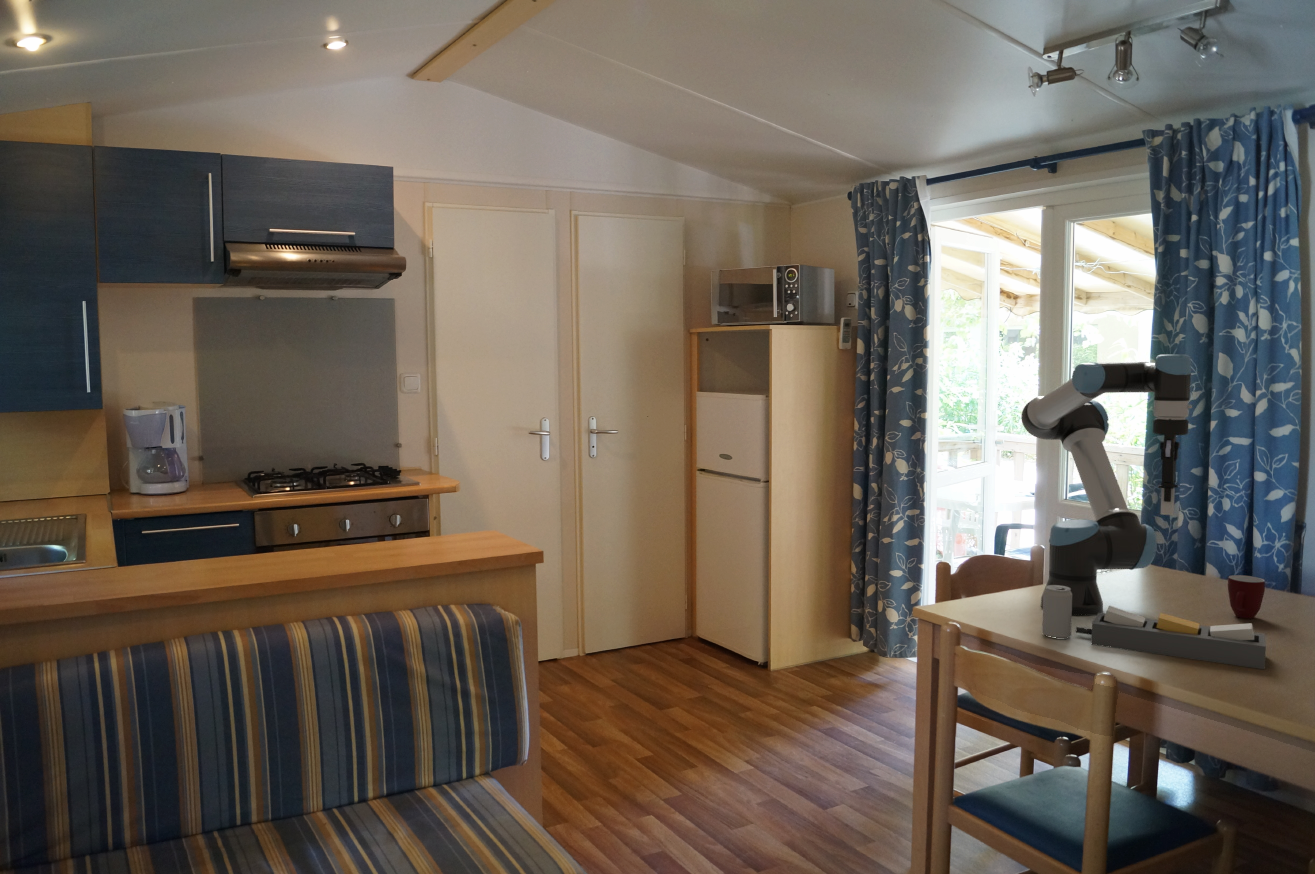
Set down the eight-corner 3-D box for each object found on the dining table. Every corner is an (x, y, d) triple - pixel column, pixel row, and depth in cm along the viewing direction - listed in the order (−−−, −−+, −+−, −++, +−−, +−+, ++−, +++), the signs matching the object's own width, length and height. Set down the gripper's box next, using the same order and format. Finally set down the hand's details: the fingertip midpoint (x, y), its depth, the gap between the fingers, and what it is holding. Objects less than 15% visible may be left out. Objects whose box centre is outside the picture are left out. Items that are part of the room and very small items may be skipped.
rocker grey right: (1212, 642, 208) (1209, 631, 208) (1213, 636, 212) (1210, 625, 212) (1254, 639, 204) (1251, 628, 204) (1254, 633, 208) (1251, 623, 208)
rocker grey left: (1103, 619, 220) (1106, 610, 219) (1106, 614, 224) (1109, 605, 223) (1140, 632, 216) (1143, 622, 215) (1142, 627, 220) (1145, 617, 219)
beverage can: (1058, 641, 221) (1060, 591, 220) (1036, 634, 226) (1037, 585, 225) (1076, 638, 224) (1078, 588, 223) (1054, 631, 229) (1055, 583, 228)
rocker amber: (1156, 627, 214) (1158, 617, 213) (1158, 622, 218) (1160, 612, 217) (1195, 639, 210) (1198, 629, 209) (1196, 633, 214) (1199, 623, 213)
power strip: (1072, 641, 221) (1073, 620, 220) (1079, 630, 230) (1080, 610, 230) (1264, 669, 200) (1265, 646, 200) (1264, 655, 210) (1265, 633, 209)
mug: (1260, 625, 233) (1262, 585, 233) (1222, 619, 238) (1224, 581, 238) (1264, 616, 242) (1266, 578, 241) (1228, 611, 247) (1230, 573, 246)
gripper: (1187, 420, 220) (1182, 519, 222) (1190, 417, 231) (1186, 511, 233) (1151, 419, 224) (1147, 516, 226) (1155, 416, 235) (1152, 509, 237)
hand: (1167, 514), depth 229 cm, fingers closed
